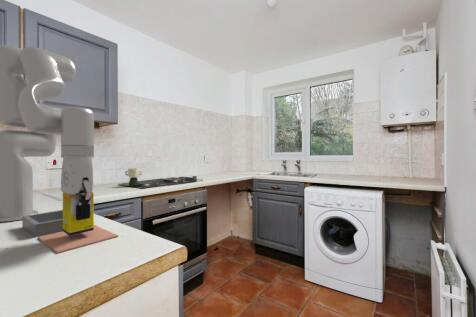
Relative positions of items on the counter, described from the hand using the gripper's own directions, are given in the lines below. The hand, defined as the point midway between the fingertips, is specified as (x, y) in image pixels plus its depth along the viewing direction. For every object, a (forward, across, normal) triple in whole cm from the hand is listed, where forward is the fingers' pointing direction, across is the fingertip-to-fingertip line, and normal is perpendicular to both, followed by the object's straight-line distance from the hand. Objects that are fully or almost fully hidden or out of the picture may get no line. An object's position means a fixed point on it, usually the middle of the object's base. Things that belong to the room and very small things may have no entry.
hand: (78, 216), depth 64 cm
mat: (+6, 0, 0) cm, 6 cm away
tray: (+6, -17, 0) cm, 18 cm away
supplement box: (+4, 0, 0) cm, 4 cm away
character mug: (+7, -86, +64) cm, 107 cm away
